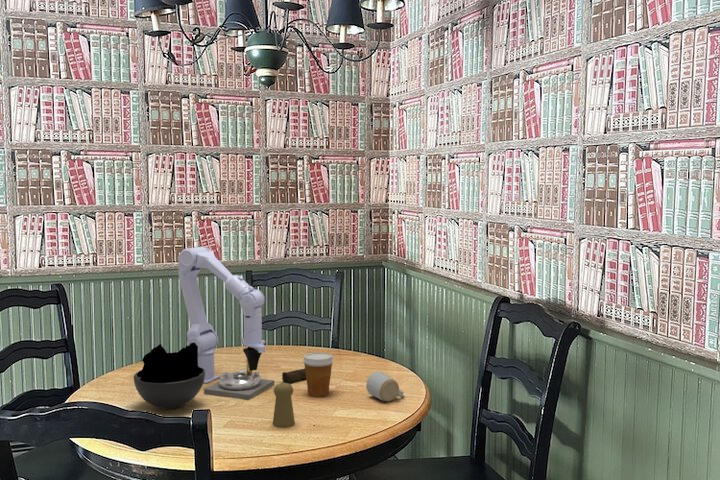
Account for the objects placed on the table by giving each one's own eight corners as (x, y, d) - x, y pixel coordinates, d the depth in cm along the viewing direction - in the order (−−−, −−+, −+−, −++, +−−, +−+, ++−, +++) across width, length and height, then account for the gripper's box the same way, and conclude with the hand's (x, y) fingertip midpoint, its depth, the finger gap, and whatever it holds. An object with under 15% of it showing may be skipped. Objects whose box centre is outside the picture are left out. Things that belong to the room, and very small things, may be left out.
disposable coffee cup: (309, 400, 201) (309, 361, 200) (298, 391, 210) (298, 353, 209) (338, 396, 205) (338, 357, 204) (326, 387, 214) (326, 350, 213)
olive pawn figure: (273, 420, 184) (272, 381, 183) (295, 419, 185) (294, 380, 184) (272, 428, 178) (271, 387, 177) (294, 427, 179) (294, 387, 178)
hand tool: (287, 385, 217) (287, 371, 216) (281, 382, 220) (281, 368, 219) (335, 375, 228) (335, 362, 228) (328, 372, 231) (328, 359, 231)
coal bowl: (121, 417, 186) (119, 350, 185) (153, 394, 206) (151, 334, 204) (190, 420, 184) (188, 353, 182) (215, 397, 203) (214, 336, 202)
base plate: (204, 393, 207) (203, 388, 207) (231, 379, 222) (231, 374, 222) (249, 399, 201) (249, 394, 201) (274, 384, 216) (274, 379, 216)
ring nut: (243, 392, 203) (243, 371, 202) (210, 386, 209) (209, 365, 208) (268, 381, 214) (268, 361, 214) (236, 375, 220) (236, 356, 220)
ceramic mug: (380, 404, 197) (381, 379, 197) (365, 397, 204) (366, 372, 204) (409, 399, 203) (410, 374, 203) (393, 392, 210) (394, 368, 209)
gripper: (273, 331, 209) (274, 373, 210) (255, 323, 222) (255, 363, 223) (252, 333, 206) (253, 377, 207) (235, 325, 218) (235, 366, 219)
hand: (253, 370), depth 214 cm, fingers closed
